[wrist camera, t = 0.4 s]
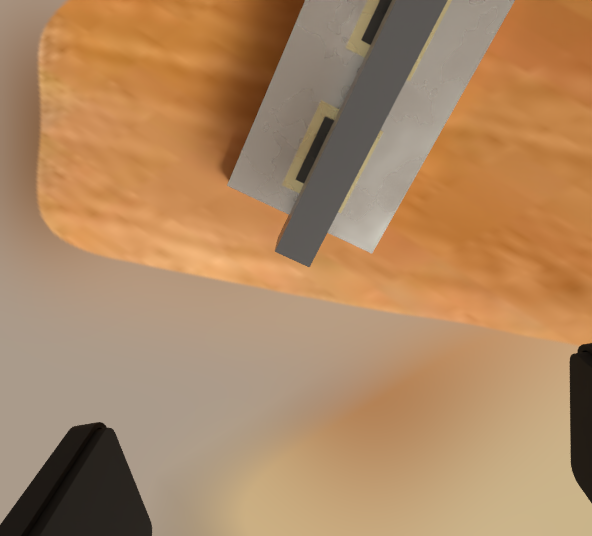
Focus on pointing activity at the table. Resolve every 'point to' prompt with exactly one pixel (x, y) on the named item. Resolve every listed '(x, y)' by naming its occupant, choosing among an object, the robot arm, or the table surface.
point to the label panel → (331, 93)
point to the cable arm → (357, 125)
